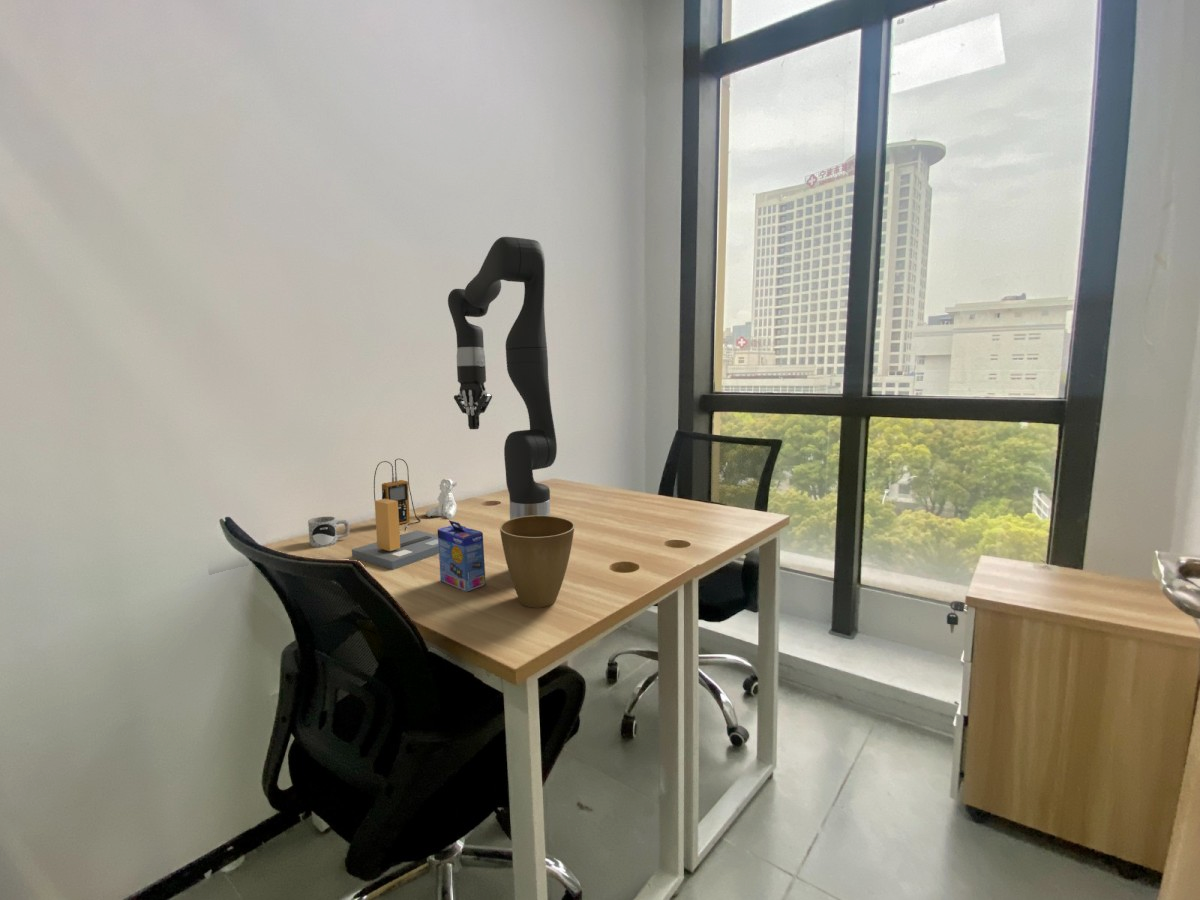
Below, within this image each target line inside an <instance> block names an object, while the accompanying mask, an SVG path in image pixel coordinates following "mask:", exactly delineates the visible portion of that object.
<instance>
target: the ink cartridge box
mask: <svg viewBox="0 0 1200 900" xmlns="http://www.w3.org/2000/svg"><path fill="white" fill-rule="evenodd" d="M448 522H449V523H450V525H449V526H444V527H440V528H438V529H437V530H436V531H437V535H438V545H439V554H438V556H439V557H438V559H439V575H440V578H439V579H440V581H441V582H442V583H444V584H447V585H449V586H452V587H453V588H457V589H458V590H460V591H462V592H466V593H467V592H470V591H472V590H476V589H478V588H481V587H484V586H486V584H487V583H486V565H485V549H484V533H483V532H482V531H480V530H477V529H473V528H469V527H466V526H464V525H461V523H460V522H456V521H453V520H451V519H448Z"/></svg>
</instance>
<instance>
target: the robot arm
mask: <svg viewBox="0 0 1200 900" xmlns="http://www.w3.org/2000/svg"><path fill="white" fill-rule="evenodd" d="M545 261H546V260H545V253H544V249H543V246H542V244H541V242H539V241H538V240H536V239H530V238H523V237H516V236H515V237H514V236H502V237H501V236H500V237H499V238H497V239H496V240H495V241H494V242H493V244H492V245H491V247H490V249H489V250H488V253H487V255H486V256H485V258H484V261H483V262H482V265H481V267H480V268H479V271H478V272H477V274H476V275H475V276H474V277H473V278H472V279H471V280H470V281H469V282H467V285H466V287H464V289H463V288H454V289H452V290H451V291H450V292H449V294H448V296H447V305H448V310H449V313H450V315H451V318H452V321H453V325H454V329H455V333H456V347H457V348H456V374H457V382H458V383H459V385H460V387H459V392H458V394H455V395H453V399H454V401H455V403H456V404H457V406H458V408H459V410H460V411H461V413H462V414H466V416H467V425H468V429H469V430H479V428H480V415H481V414H484V413H485V412H486V410H487V408H488V406H489V404H490V403H491V400H492V399H493V395H492V394H490V393H488V392H487V391H486V387H485V383H486V382H487V371H486V355H485V349H484V348H485V346H484V331H483V328H482V327H481V326H480V325H479V326H478V325H475V324H473V323H470V322H468V321H469V320H467V318H466V317H468V318H469V317H470V318H481V317H484V316H486V315H487V314H488V310H489V307H490V304H491V303H492V302H494V300H496V299H497V298H498V296H499V295H500V292H501V290H502V281H506V282H514V283H515V282H516V283H523V284H524V285H523V286H524V294H523V295H524V296H523V304H522V307H521V309H520V311H519V313H518V316H516V317H517V318H516V319H515V321H514V322H513V324H512V326H511V328H510V330H509V332H508V334H507V337H506V339H505V358H506V360H505V361H506V371H507V374H508V377H509V379H510V381H511V382H512V384H513V386H514V388H515V389H516V391H517V392H518V394H519V395H520V398H521V399H522V401H523V402H524V404H525V406H526V407H525V408H526V410H527V415H528V421H529V422H528V423H529V429H523V430H515V431H512V432H510V433H509V434H508V435H507V437H506V438H505V442H504V447H503V448H504V449H503V452H504V453H503V454H504V456H503V457H504V469H505V480H506V488H507V491H508V496H509V520H510V519H513V518H518V517H524V516H551V491H550V490H551V489H550V487H549V486H548V485H547V484H543V483H539V482H537V481H535V479H534V473H533V471H535V470H542V469H545V468H546V469H547V468H549V467H551V466H552V465H554V463H555V461H556V460H557V459H556V457H557V454H558V453H557V452H558V450H557V449H558V448H557V447H558V446H557V445H558V444H557V436H556V431H555V430H556V429H555V424H554V423H555V422H554V418H553V411H552V404H551V393H550V381H549V379H550V378H549V358H548V356H549V355H548V346H547V334H546V321H545V320H546V319H545V317H546V316H545V285H546V282H545V280H546V275H545V273H546V262H545Z"/></svg>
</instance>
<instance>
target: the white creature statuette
mask: <svg viewBox="0 0 1200 900" xmlns="http://www.w3.org/2000/svg"><path fill="white" fill-rule="evenodd" d="M457 483H458V482H457V481H453V480H452V479H450V478H448V477H444V478H443V479H441V481H440V484H439V490H440V491H441V492H440V493H439V495H438V497H437V501H438V502H439V503H438V506H435V507H431V508H429V509H428V510H426V511H425V514H426V516H427V517H428V518H430V517H431V516H432V517H442V518H447V520H451V519H453V518H454V517H455V514H456V512H457V510H458V506H457V503H456V501H455V497H454V494H453V493H452V491H453V490H454V488H455V487H456V486H457Z"/></svg>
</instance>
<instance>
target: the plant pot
mask: <svg viewBox="0 0 1200 900" xmlns="http://www.w3.org/2000/svg"><path fill="white" fill-rule="evenodd" d="M499 532H500V538H501V544H502V548H503V549H502V550H503V554H504V559H505V561H506V566H507V569H508V573H509V575H510V580H511V582H512V586H513V588H514V590H515V592H516V595H517V597H518V600H519V602H520V604H522V605H523V606H524V607H528V608H544V607H549V606H551V605H553V604H555V602H556V600H557V598H558V596H559V593H560V590H561V588H562V584H563V583H564V578H565V575H566V572H567V568H568V565H569V560H570V556H571V551H572V547H573V541H574V534H575V533H574V532H575V523H574V522H573V521H571V520H570V519H566V518H563V517H559V516H552V515H550V516H524V517H518V518H513V519H510V518H509V519H508V520H505V521H504V522H502V523H501V524H500V525H499Z"/></svg>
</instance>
